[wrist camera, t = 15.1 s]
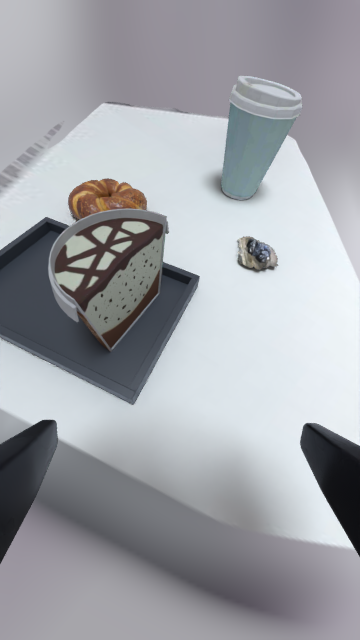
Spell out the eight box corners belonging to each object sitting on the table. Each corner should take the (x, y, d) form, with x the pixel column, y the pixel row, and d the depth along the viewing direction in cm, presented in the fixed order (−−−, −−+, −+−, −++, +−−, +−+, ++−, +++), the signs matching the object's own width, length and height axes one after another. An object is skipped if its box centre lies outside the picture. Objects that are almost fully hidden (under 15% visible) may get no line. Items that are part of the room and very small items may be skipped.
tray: (133, 404, 21) (131, 400, 20) (-54, 310, 25) (-69, 299, 23) (197, 286, 30) (199, 275, 28) (51, 229, 33) (46, 216, 32)
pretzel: (144, 192, 41) (143, 170, 37) (150, 231, 35) (149, 208, 32) (74, 193, 39) (67, 169, 36) (69, 233, 33) (60, 210, 30)
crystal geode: (244, 275, 32) (248, 266, 30) (223, 239, 35) (226, 228, 34) (285, 269, 33) (291, 259, 31) (260, 234, 37) (265, 224, 35)
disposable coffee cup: (240, 173, 48) (270, 69, 35) (276, 199, 43) (326, 91, 31) (200, 184, 44) (217, 72, 31) (236, 214, 40) (273, 97, 27)
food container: (127, 266, 30) (115, 190, 22) (166, 286, 29) (169, 213, 20) (55, 334, 24) (-1, 265, 15) (101, 363, 23) (67, 305, 14)
